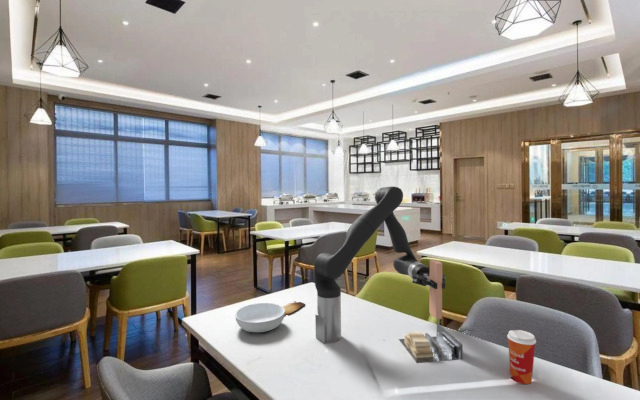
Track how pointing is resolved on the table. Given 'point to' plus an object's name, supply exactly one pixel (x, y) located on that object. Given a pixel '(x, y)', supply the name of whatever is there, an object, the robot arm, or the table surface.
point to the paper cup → (521, 355)
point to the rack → (440, 347)
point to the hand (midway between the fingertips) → (440, 286)
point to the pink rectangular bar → (436, 294)
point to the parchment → (292, 307)
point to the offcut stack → (418, 344)
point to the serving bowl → (260, 317)
